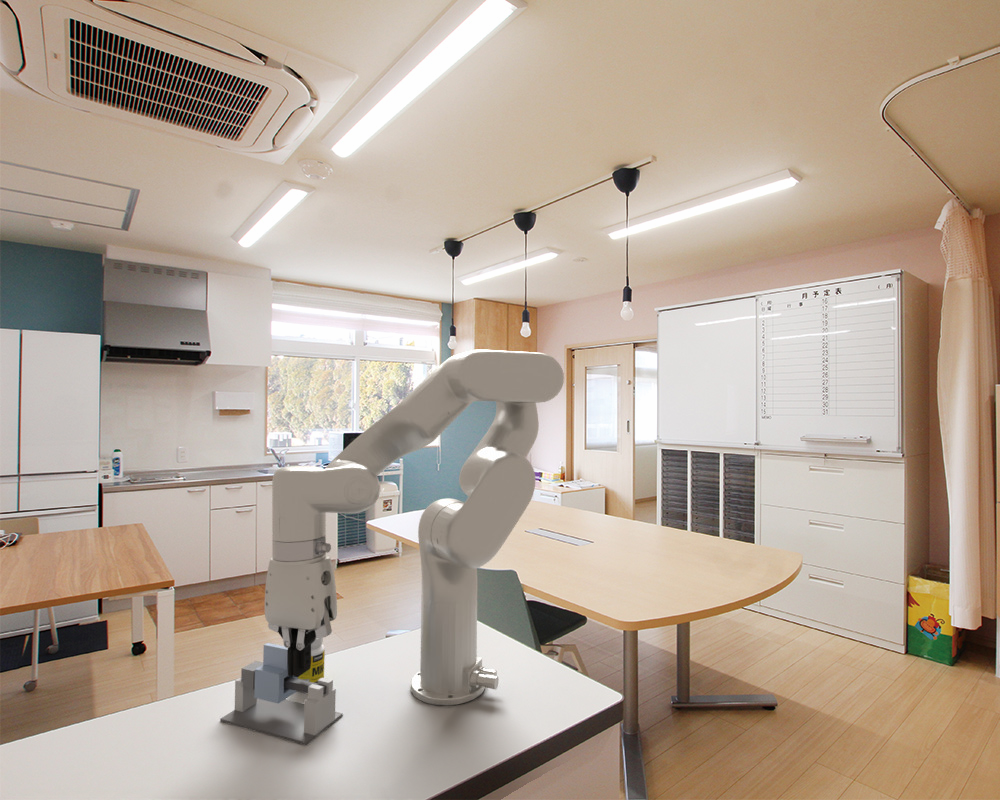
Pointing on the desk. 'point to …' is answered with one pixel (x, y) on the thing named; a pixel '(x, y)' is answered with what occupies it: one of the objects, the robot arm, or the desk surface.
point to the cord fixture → (284, 708)
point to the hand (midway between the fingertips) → (299, 672)
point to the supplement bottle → (315, 662)
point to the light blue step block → (273, 674)
